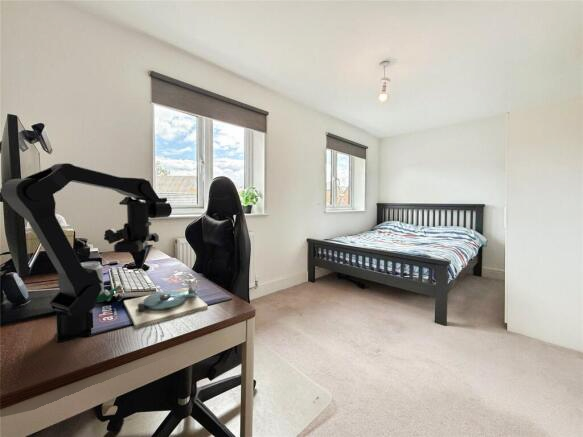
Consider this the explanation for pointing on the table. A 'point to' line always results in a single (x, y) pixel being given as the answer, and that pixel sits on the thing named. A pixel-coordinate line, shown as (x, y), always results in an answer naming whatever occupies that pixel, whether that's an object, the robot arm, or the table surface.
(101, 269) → the can
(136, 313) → the post base
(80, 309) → the robot arm
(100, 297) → the green irregular piece
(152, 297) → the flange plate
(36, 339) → the table surface
